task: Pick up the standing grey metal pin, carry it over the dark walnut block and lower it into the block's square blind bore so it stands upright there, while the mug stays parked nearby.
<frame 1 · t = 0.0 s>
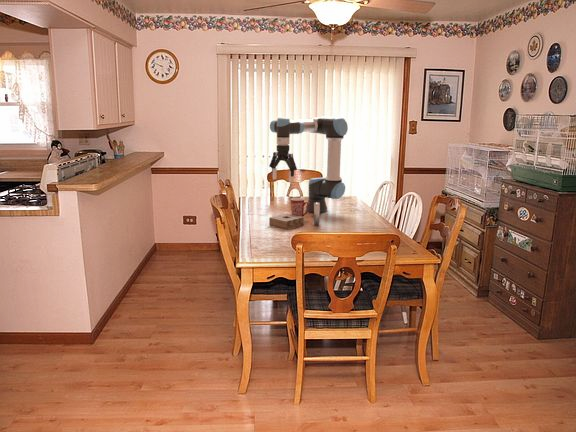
hand: (282, 180, 283), 28 cm above the table, fingers open, 13 cm apart
bore block: (286, 225, 291), on the table
mug: (299, 219, 306), on the table
pin: (316, 225, 292), on the table
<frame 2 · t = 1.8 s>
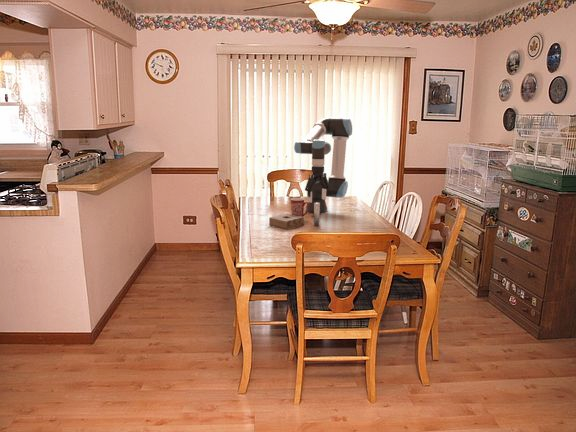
hand: (316, 200, 288), 15 cm above the table, fingers open, 13 cm apart
nothing on the table moved.
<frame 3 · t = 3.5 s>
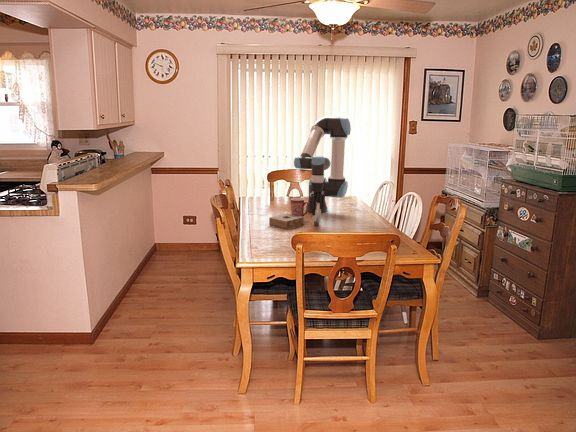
hand: (316, 219, 291), 4 cm above the table, fingers closed on pin, 3 cm apart
pin: (316, 225, 292), on the table, touching gripper
everything else where it was.
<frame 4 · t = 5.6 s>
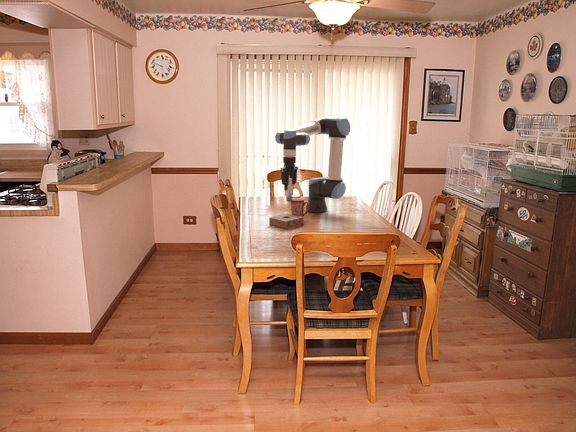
hand: (288, 195, 287), 19 cm above the table, fingers closed on pin, 3 cm apart
pin: (288, 201, 288), point 15 cm above the table, touching gripper
everything else where it was.
when the fingers open (6 cm above the table, at t = 7.7 s): pin drops 1 cm, resting on bore block.
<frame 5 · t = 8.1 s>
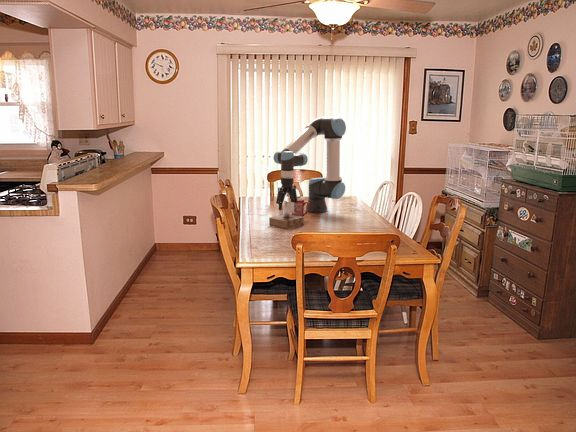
hand: (286, 213, 290), 7 cm above the table, fingers open, 9 cm apart
pin: (286, 223, 291), point 1 cm above the table, touching bore block
everything else where it was.
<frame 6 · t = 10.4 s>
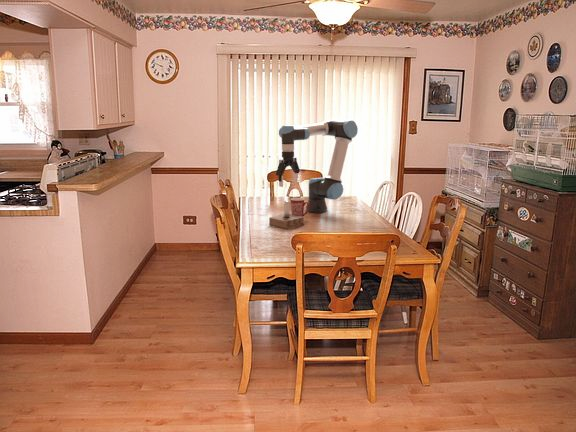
hand: (288, 185, 296), 23 cm above the table, fingers open, 13 cm apart
nothing on the table moved.
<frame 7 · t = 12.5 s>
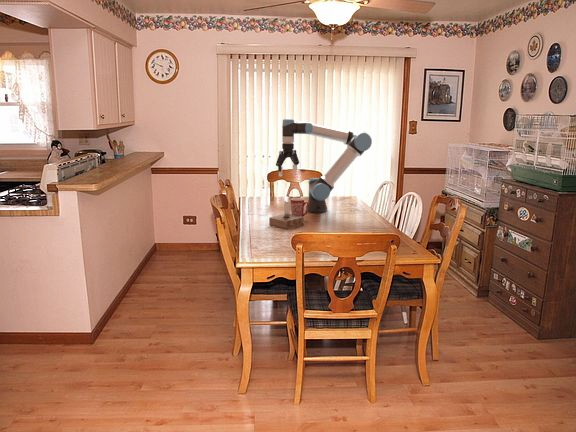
hand: (287, 175, 313), 27 cm above the table, fingers open, 13 cm apart
nothing on the table moved.
at the end: pin 0.1 cm off-centre on the bore block, point 1.0 cm above the bore block's base; pin tilted 0°; the gripper is holding nothing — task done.
